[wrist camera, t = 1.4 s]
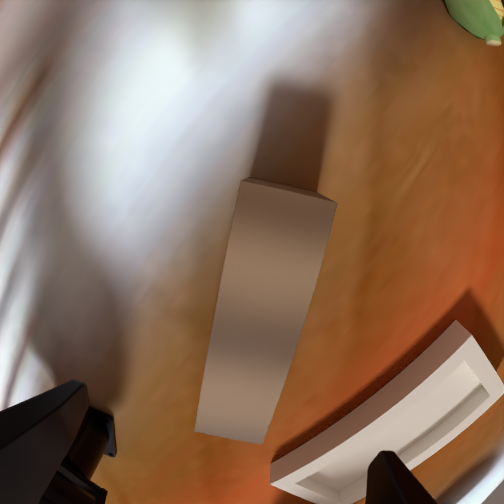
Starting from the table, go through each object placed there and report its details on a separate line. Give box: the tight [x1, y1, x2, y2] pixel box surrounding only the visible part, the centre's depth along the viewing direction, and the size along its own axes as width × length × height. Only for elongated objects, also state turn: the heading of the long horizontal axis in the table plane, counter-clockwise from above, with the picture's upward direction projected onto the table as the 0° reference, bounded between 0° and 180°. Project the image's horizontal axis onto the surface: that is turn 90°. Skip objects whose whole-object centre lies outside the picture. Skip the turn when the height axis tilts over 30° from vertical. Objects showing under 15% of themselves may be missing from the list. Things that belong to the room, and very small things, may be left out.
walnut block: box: [195, 177, 337, 444], centre depth 17 cm, size 14×4×6 cm, turn 168°
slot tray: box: [270, 320, 504, 504], centre depth 22 cm, size 20×10×2 cm, turn 138°
